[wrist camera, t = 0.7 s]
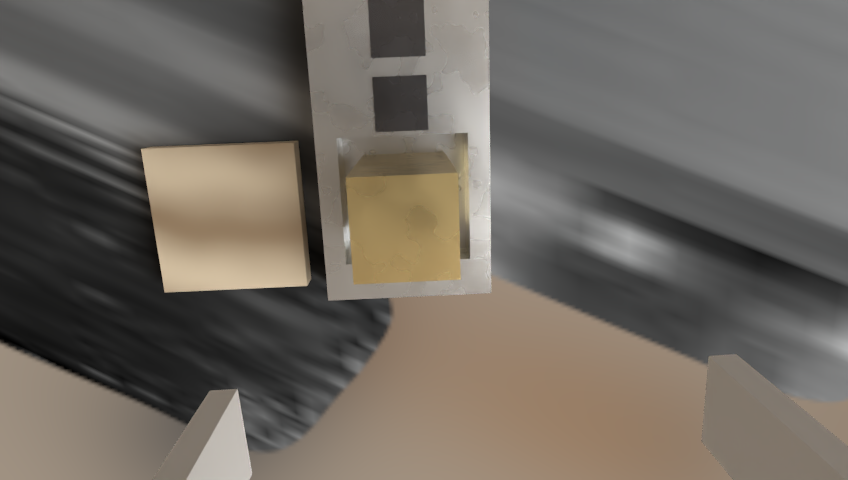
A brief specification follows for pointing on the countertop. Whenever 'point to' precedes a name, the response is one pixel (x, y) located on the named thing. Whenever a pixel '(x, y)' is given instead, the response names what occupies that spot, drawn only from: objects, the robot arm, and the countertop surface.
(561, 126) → the countertop surface
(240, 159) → the coaster
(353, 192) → the block
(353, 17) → the white recessed slab
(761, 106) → the countertop surface
